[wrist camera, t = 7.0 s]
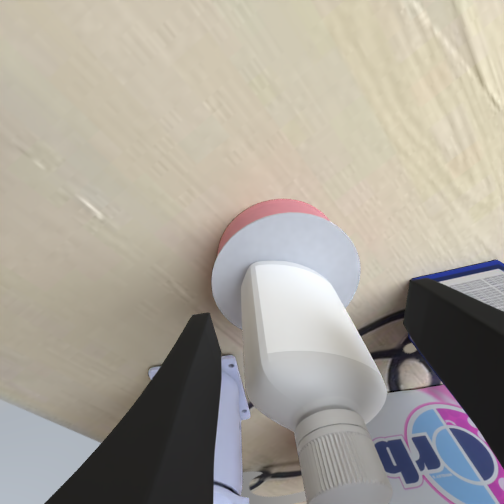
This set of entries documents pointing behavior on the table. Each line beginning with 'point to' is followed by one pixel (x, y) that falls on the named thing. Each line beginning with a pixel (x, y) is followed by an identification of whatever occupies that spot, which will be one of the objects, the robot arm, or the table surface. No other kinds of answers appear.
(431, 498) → the gum box
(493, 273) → the milk carton
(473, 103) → the table surface
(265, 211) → the yogurt pot
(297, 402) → the eye dropper bottle
